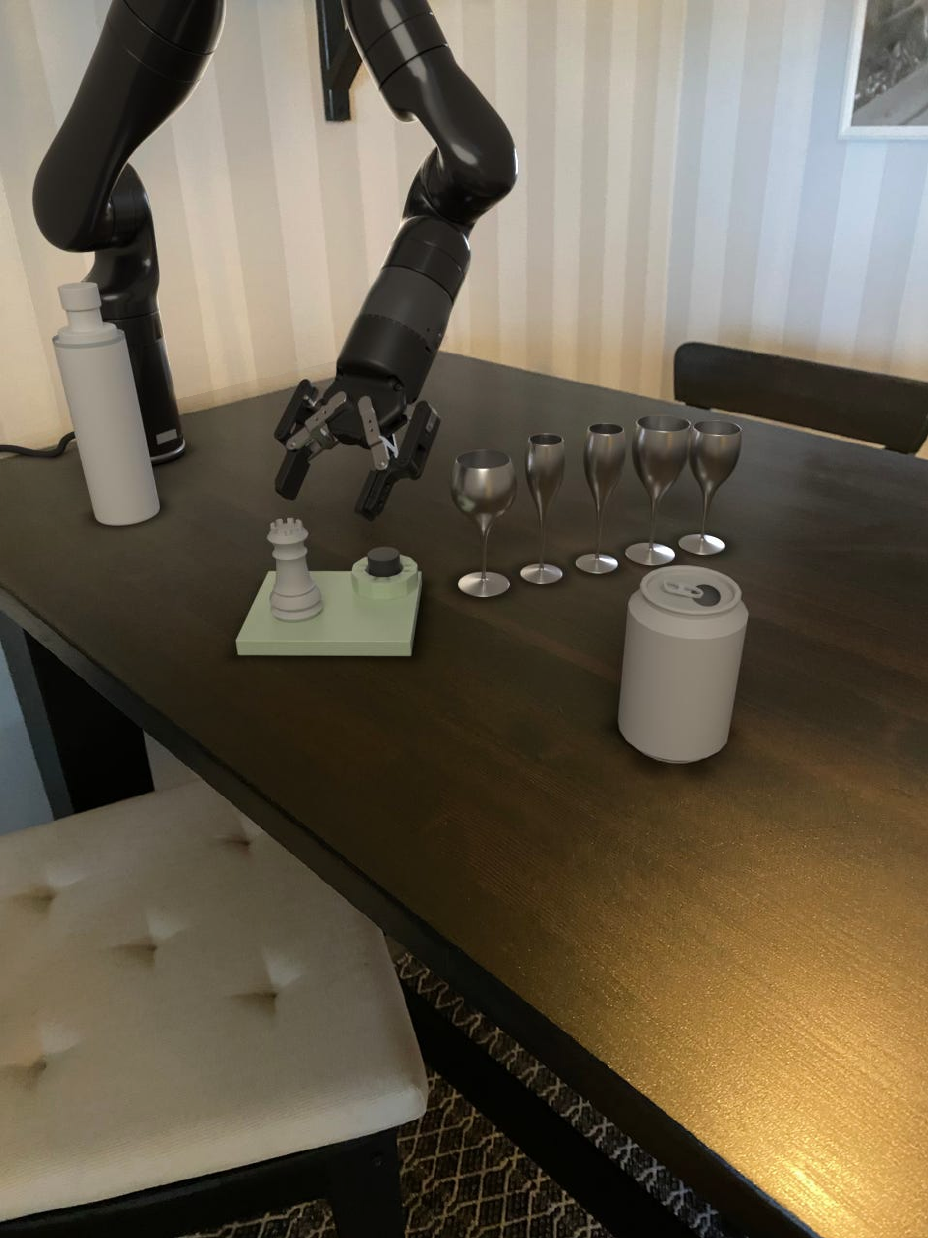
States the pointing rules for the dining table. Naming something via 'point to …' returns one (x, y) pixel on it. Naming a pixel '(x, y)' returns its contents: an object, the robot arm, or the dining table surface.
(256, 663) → the dining table surface
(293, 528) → the rook chess piece
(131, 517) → the grey bottle
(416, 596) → the scale
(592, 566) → the goblet set
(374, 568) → the button
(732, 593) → the can
